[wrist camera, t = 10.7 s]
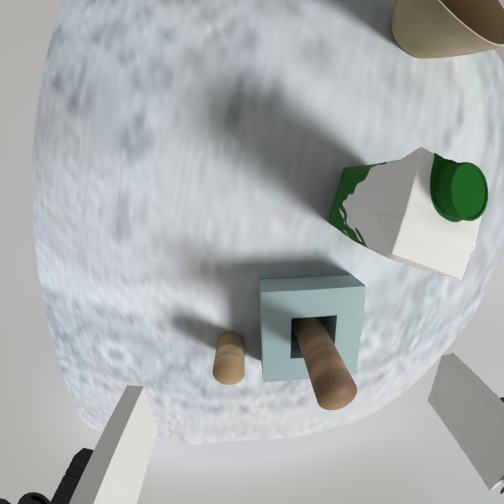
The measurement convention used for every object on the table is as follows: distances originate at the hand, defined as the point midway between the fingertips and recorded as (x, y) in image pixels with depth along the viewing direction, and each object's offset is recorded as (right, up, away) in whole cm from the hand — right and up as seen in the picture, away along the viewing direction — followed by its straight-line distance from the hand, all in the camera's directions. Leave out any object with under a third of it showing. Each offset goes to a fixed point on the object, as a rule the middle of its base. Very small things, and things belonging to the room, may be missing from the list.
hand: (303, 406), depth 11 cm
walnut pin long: (+5, -3, +27) cm, 28 cm away
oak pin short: (-5, -6, +28) cm, 29 cm away
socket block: (+5, -3, +27) cm, 28 cm away
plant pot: (+22, +38, +20) cm, 48 cm away
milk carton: (+11, +12, +25) cm, 30 cm away
